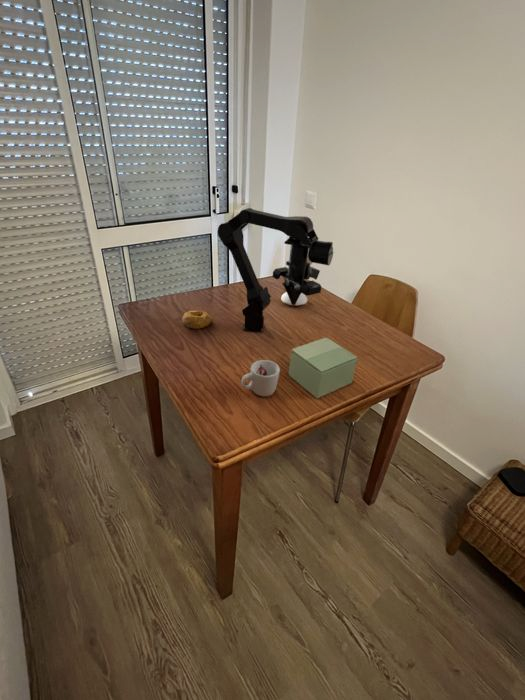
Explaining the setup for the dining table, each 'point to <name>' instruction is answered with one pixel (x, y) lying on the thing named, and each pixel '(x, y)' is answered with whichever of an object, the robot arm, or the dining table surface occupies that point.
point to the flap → (315, 348)
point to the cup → (262, 377)
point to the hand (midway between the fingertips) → (293, 304)
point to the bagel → (196, 319)
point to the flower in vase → (302, 297)
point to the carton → (323, 371)
